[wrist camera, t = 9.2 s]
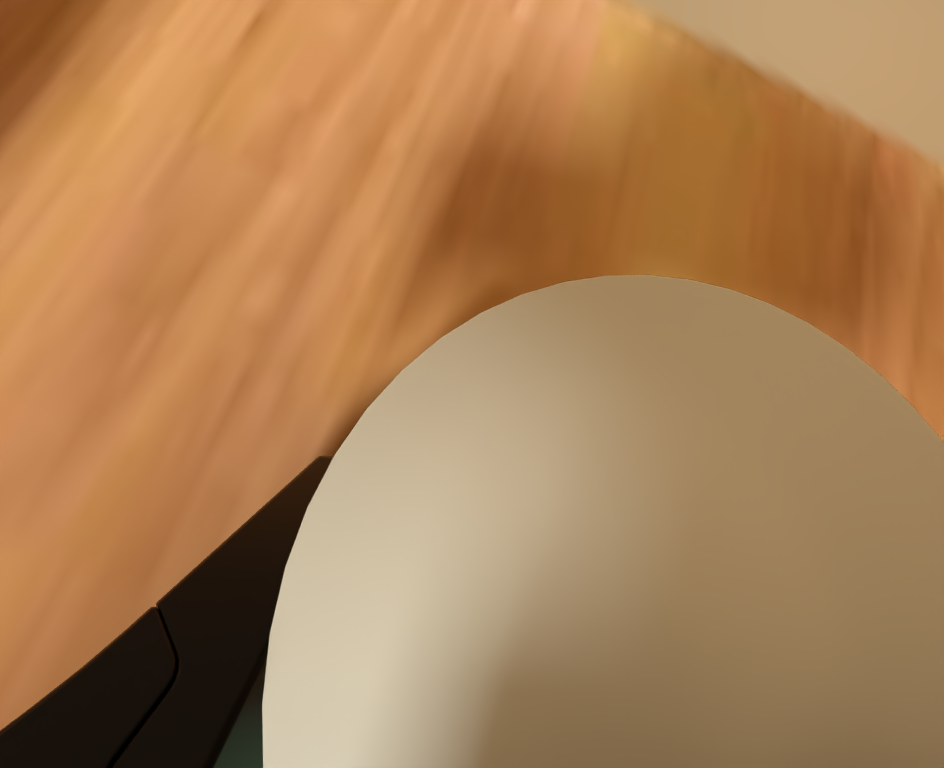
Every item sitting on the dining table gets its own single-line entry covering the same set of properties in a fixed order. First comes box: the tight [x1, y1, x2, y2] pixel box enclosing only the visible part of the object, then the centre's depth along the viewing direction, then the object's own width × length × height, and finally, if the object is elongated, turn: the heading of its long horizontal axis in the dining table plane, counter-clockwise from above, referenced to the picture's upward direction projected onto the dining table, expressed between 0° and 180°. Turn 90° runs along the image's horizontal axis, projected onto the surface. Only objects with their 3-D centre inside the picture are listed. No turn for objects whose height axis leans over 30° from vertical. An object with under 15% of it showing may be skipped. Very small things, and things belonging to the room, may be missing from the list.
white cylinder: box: [262, 275, 944, 768], centre depth 9 cm, size 4×4×12 cm
